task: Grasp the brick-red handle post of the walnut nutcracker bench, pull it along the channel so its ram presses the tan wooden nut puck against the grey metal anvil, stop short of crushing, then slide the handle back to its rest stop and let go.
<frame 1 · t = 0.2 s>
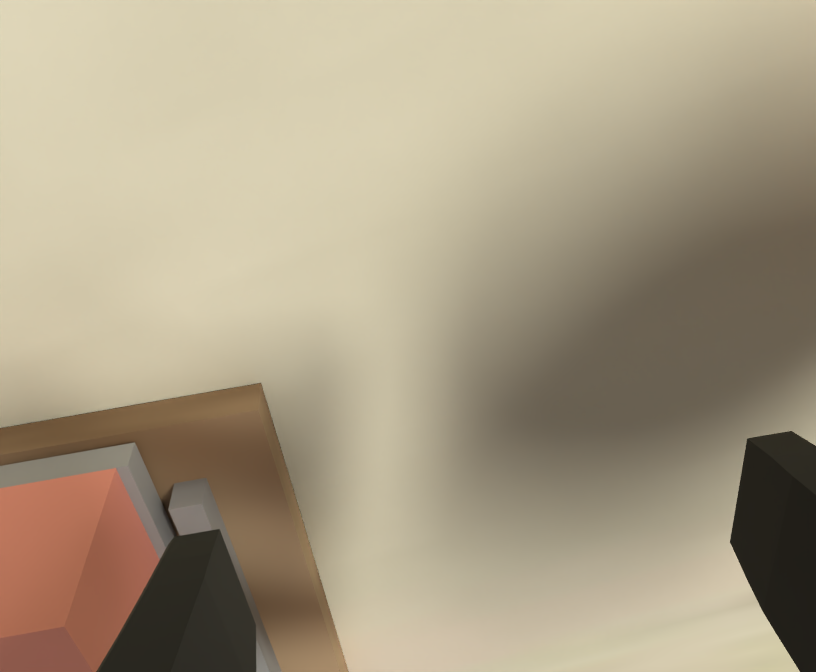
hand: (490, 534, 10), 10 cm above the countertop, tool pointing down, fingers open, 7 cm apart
cracker bench: (151, 591, 24), on the countertop
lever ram: (50, 593, 18), point 4 cm above the countertop, slide at 0.0 cm
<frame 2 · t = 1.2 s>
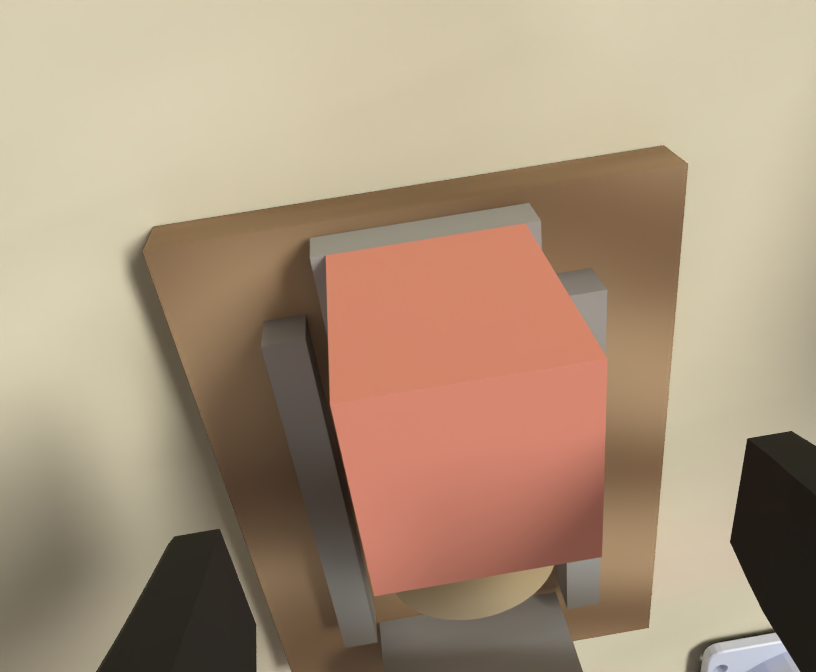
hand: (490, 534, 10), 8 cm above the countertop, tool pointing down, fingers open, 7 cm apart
nut puck: (449, 463, 18), point 1 cm above the countertop, touching cracker bench
cracker bench: (445, 450, 20), on the countertop
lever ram: (451, 381, 13), point 4 cm above the countertop, slide at 0.0 cm
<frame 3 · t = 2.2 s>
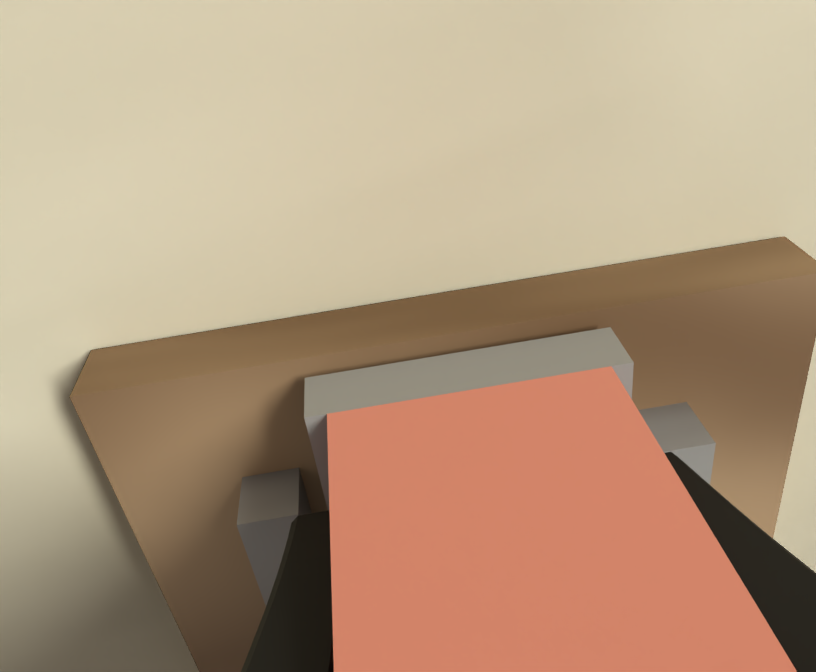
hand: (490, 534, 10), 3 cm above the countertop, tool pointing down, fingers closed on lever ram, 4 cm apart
cracker bench: (477, 599, 16), on the countertop
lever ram: (509, 604, 9), point 4 cm above the countertop, slide at 0.0 cm, touching gripper
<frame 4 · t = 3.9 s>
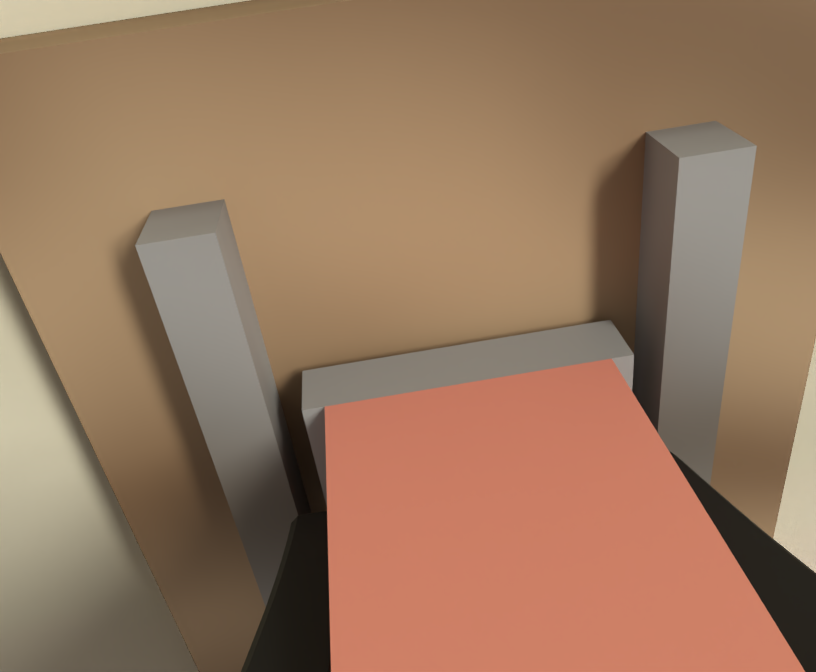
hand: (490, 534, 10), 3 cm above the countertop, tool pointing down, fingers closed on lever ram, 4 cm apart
cracker bench: (458, 438, 13), on the countertop
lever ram: (508, 598, 9), point 4 cm above the countertop, slide at 4.4 cm, touching gripper, nut puck
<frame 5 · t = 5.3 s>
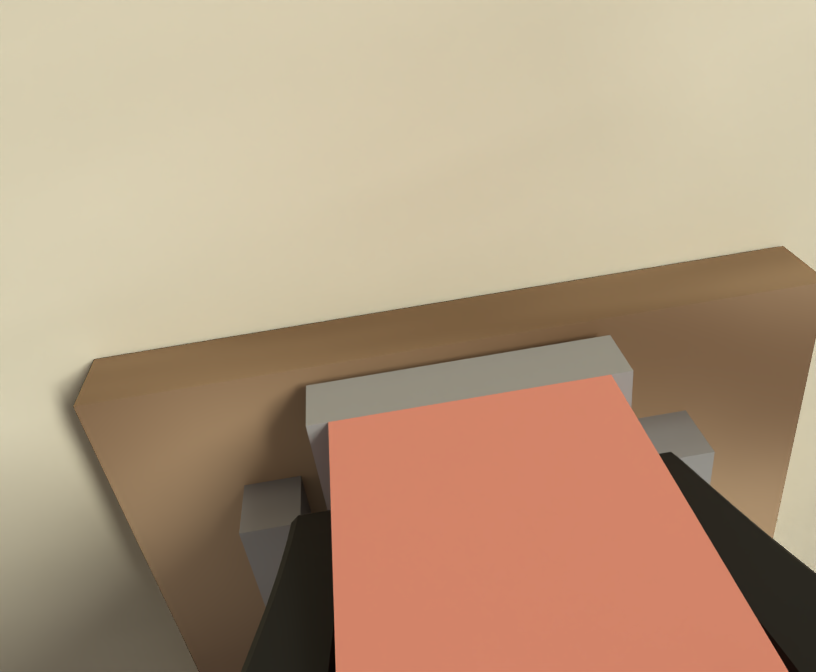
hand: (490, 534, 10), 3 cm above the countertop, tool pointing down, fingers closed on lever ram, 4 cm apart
cracker bench: (477, 604, 16), on the countertop
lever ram: (509, 611, 9), point 4 cm above the countertop, slide at 0.0 cm, touching gripper
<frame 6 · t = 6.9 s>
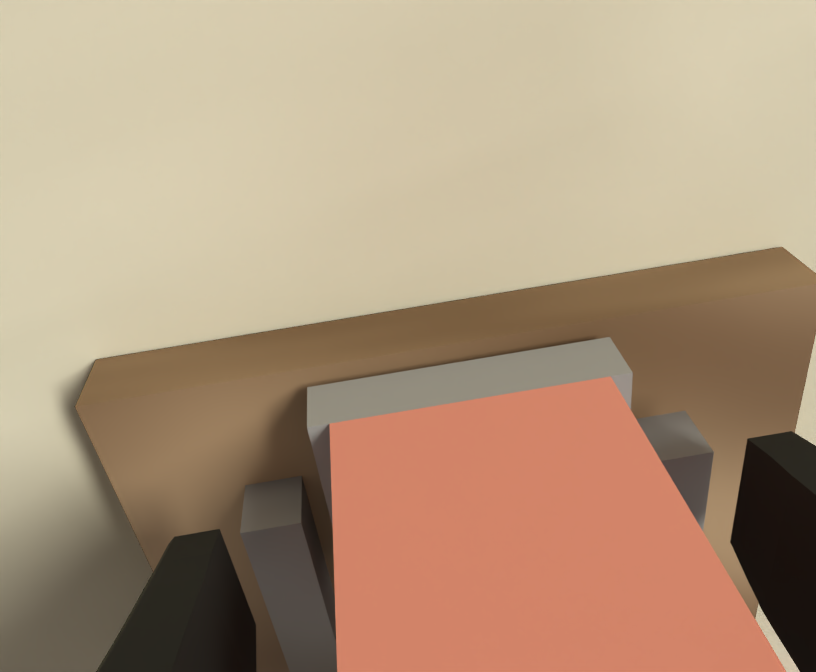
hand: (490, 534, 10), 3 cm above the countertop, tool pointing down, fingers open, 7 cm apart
cracker bench: (477, 604, 16), on the countertop
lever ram: (509, 612, 9), point 4 cm above the countertop, slide at 0.0 cm
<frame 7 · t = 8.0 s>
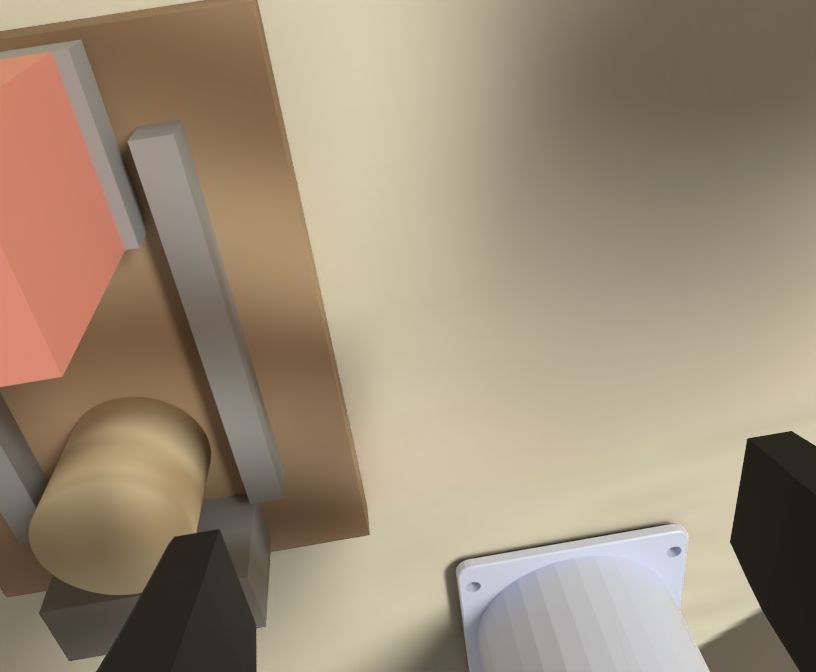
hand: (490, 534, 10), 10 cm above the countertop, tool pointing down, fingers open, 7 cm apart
nut puck: (142, 451, 20), point 1 cm above the countertop, touching cracker bench
cracker bench: (113, 337, 19), on the countertop
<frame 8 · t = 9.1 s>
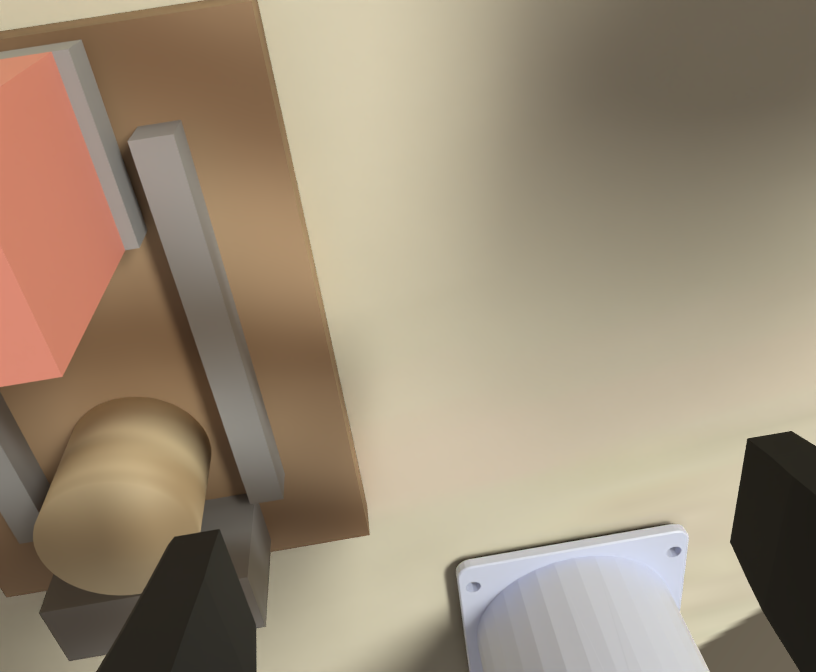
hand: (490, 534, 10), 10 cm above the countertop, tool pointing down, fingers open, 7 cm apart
nut puck: (141, 451, 20), point 1 cm above the countertop, touching cracker bench
cracker bench: (113, 337, 19), on the countertop
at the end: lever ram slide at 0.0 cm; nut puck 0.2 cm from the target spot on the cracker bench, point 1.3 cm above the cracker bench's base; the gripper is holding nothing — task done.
